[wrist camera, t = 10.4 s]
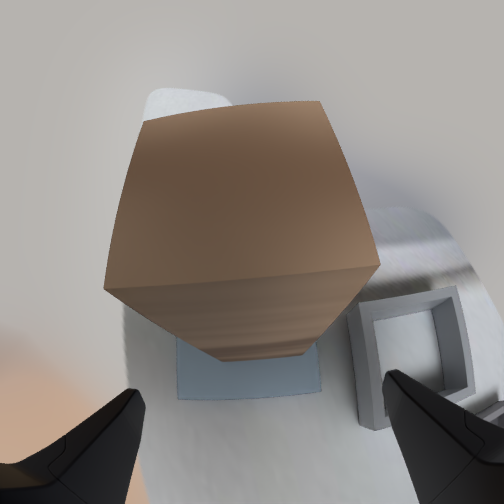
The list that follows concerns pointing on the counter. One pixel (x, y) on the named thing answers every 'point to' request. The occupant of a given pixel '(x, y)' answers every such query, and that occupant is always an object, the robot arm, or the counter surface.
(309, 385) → the pad
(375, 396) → the sleeve
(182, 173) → the walnut block
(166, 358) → the counter surface
